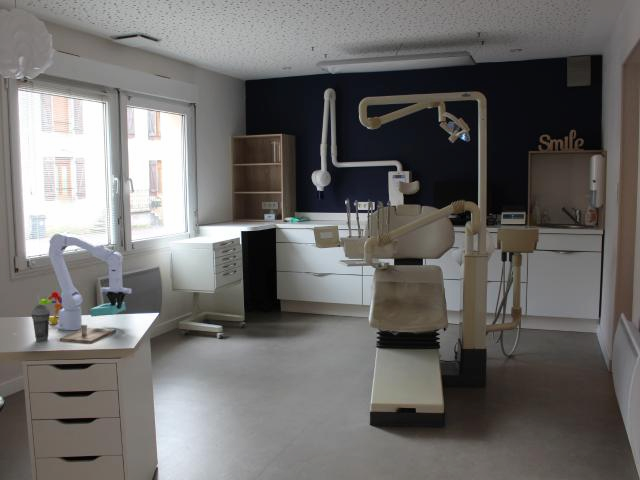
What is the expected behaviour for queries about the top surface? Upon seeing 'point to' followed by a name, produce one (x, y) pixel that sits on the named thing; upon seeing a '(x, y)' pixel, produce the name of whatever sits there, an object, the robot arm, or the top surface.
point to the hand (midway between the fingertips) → (116, 308)
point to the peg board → (87, 335)
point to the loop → (106, 309)
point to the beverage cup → (41, 322)
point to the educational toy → (57, 305)
